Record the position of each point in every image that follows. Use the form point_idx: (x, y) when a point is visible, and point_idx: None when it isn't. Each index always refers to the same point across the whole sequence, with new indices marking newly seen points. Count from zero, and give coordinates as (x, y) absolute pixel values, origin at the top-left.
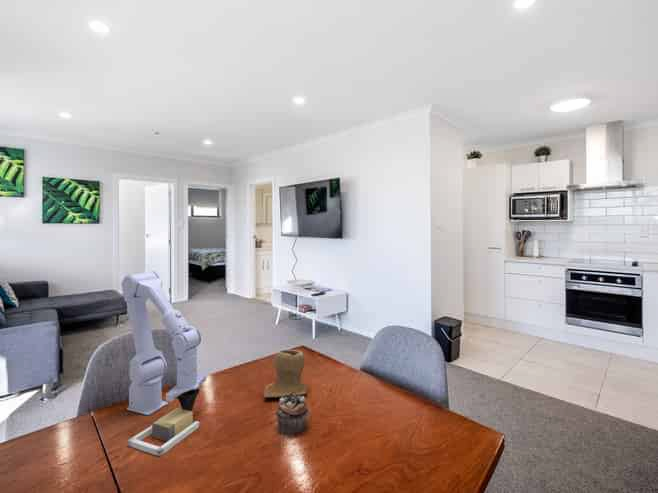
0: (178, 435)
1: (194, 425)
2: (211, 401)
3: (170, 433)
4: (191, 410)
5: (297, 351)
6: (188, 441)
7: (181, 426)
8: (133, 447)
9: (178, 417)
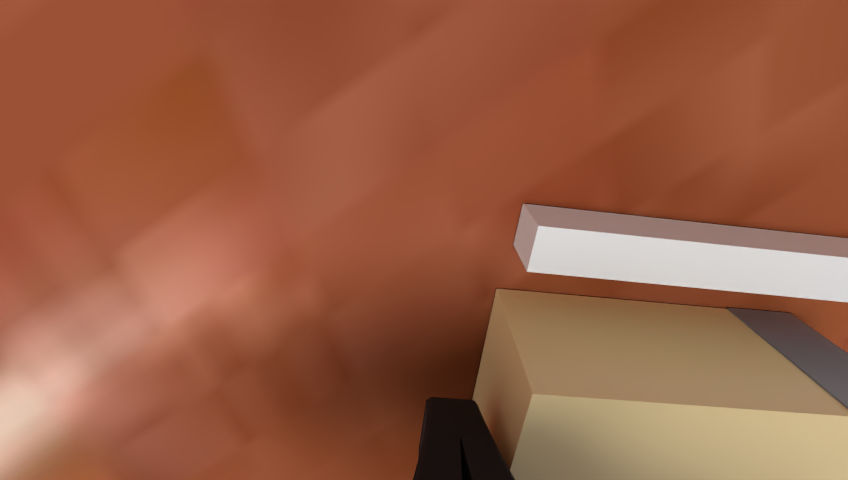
0: (823, 277)
1: (621, 233)
2: (52, 364)
3: (841, 359)
4: (444, 422)
5: None
6: (794, 150)
7: (682, 342)
8: None
9: (696, 456)
